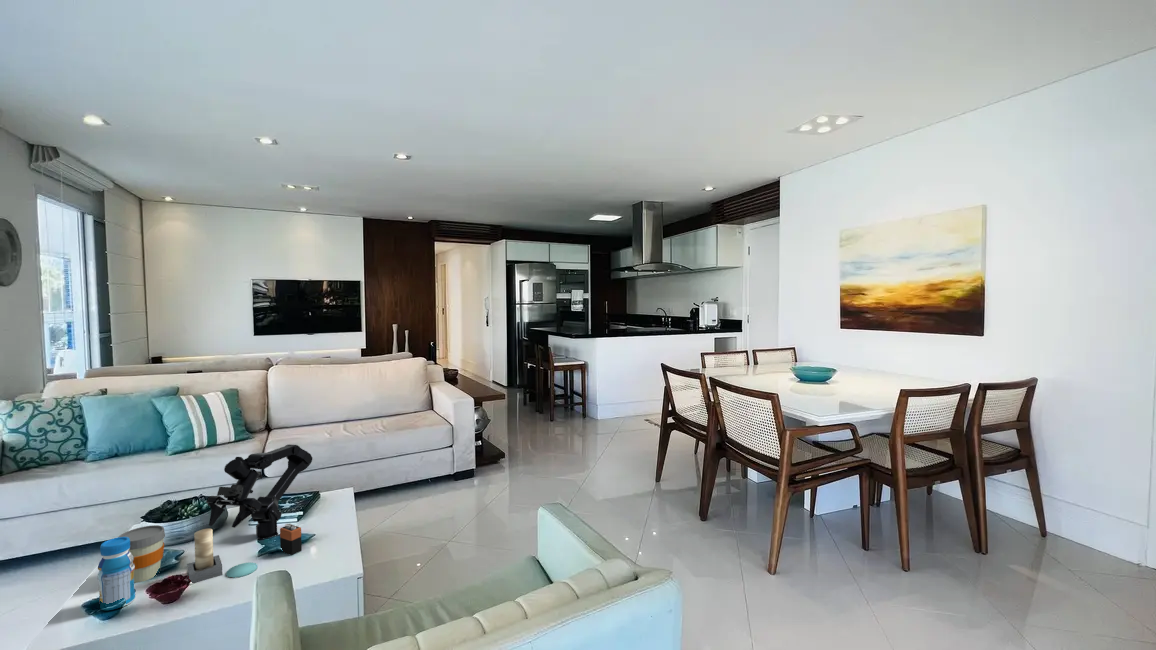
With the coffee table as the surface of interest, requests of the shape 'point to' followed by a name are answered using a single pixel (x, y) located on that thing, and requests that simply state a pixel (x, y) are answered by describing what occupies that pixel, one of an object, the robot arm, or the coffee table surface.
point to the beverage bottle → (116, 571)
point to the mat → (242, 570)
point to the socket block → (204, 571)
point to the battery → (290, 539)
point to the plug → (203, 549)
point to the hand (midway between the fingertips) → (221, 526)
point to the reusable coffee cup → (146, 550)
